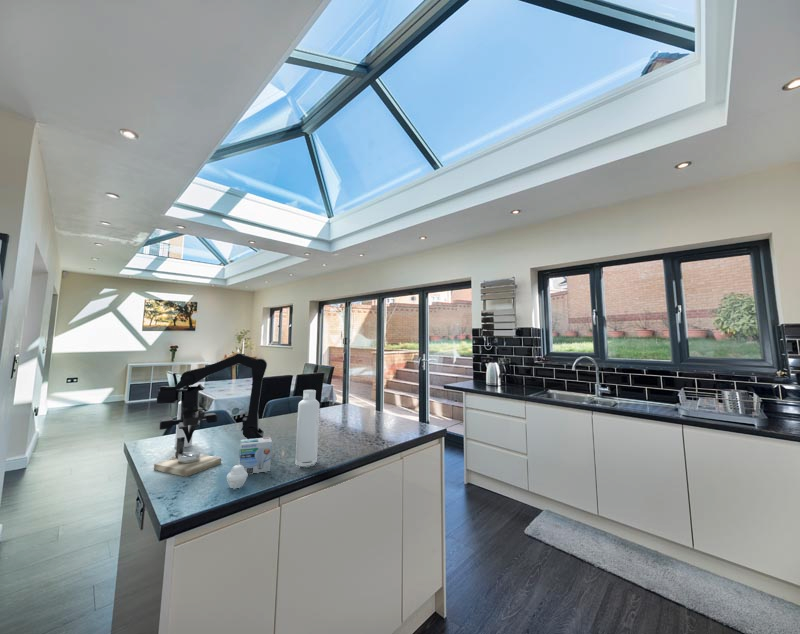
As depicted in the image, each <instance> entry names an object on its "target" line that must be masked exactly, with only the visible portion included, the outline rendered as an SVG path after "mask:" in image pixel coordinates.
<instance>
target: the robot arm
mask: <svg viewBox="0 0 800 634" xmlns="http://www.w3.org/2000/svg"><path fill="white" fill-rule="evenodd" d="M237 364H240V365H243V366H245V367H247V368H250V369H251V377H252V385H251V390H250V398H249V405H248V411H247V412H248V413H247V417H245V416H244V417H243V418H242V427H241V429H240V431H241V432H242V435H243V436H244V438H246V439H255V438H264V435H265V433H264V430H262V429H261V427H260V419H259V407H260V399H261V393H262V385H263V380H264V376H265V373H266V370H267V367H268V362H267V360H265V359H264V358H261V357H260V358H259V357H258V358H255V357H252V356H249V355H245V354H243V353H236V354H234V355H233V356H229V357H226V358H225V359H222V360H220V361H216V362H215V363H212V364H209V365H208V366H203V367H198V368H193V369H190V370H187V371H185V372H183V373H182V374H181V376H180V380H179V381H178V383H177V384H175V385H173V386H171V385H169V386H167V385H162V386H159V390H158V393H157V396H156V403H157V404H158V405H172V404H173V405H175V404H178V403H177V402H180V401H181V419H178V420H177V419H173V417H170V418H161V419H160V420H159V425H158V426H159V427H158V428H159V430H168V429H169V430H170V429H171V428H173V426H176V425H178V427H179V429H183V431H184V433H185V435H186V439H187V442H188V443H189V442H190V440H191V437H192V438H193V435H192V434H194V432H195V430H196V428H198V427H201V424H200V423H201V422H205V421H206V423H209V424H210V423H217V422H218V415H217V414H216V413H215V412H207V413H205V410H204V409H203V410H199V397H200V396H199V394H200V393H199V392H201V391H202V392H203V391H204V390H205V387H204V386H202V384H201V383H199V382H201V381H202V380H204V379H206V378H207V377H209V376H211V375H213V374H215V373H218V372H220V371H222V370H225V369H228V368H230V367H232V366H235V365H237ZM198 383H199V384H198ZM194 384H198V385H194ZM193 385H194V386H193ZM186 387H187V388H186ZM188 425H190V426H189V431H188Z"/></svg>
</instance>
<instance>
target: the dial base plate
mask: <svg viewBox="0 0 800 634" xmlns="http://www.w3.org/2000/svg"><path fill="white" fill-rule="evenodd" d="M221 463H222V457H219V456H213V455H212V456H211V455H207V454H202V453H200V460H198V461H196V462H193V463H187V464H180V463H178V458H176V456H173V457H171V458H169V459H167V460H162V461H159V462H157V463H154V464H153V471H157V470H158V472H163V473H167V474H172V475H176V476H180V477H186V478H187V477H189V476H192V475H195V474H196V473H200V472H202V471H205V470H206V469H210V468H213V467H216V466H217V465H220V464H221Z"/></svg>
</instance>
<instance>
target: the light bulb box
mask: <svg viewBox="0 0 800 634" xmlns="http://www.w3.org/2000/svg"><path fill="white" fill-rule="evenodd" d="M272 449H273V440H272V438H271V436H267V437H263V438H255V439H247V438H246V439H240V444H239V454H238V455H239V456H238V465H242V466H243V467H244V469H245V471H246V472H247V473H248V474H249V475H254V474H253V473H257V474H260V473H259V472H265V473H267V472H266V471H270V472H271V463H272V462H271V461H272Z"/></svg>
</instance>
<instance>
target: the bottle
mask: <svg viewBox="0 0 800 634" xmlns="http://www.w3.org/2000/svg"><path fill="white" fill-rule="evenodd" d="M316 394H317V390H315V389H304V390H303V394H302V396H303V397H302V400H300V401H299V402H298V404H297V405H298V407H297V424H296V442H295V443H296V444H295V445H296V446H295V460H294V461H295V464H296V465H299V466H306V465H311V464H314V463H315V462H317V463H318V459H317V458H318V450H319V448H318V444H319V427H320V425H319V423H320V406H321V405H320V402H319V401H318V400H317V399H316ZM295 464H294V465H295Z"/></svg>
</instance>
